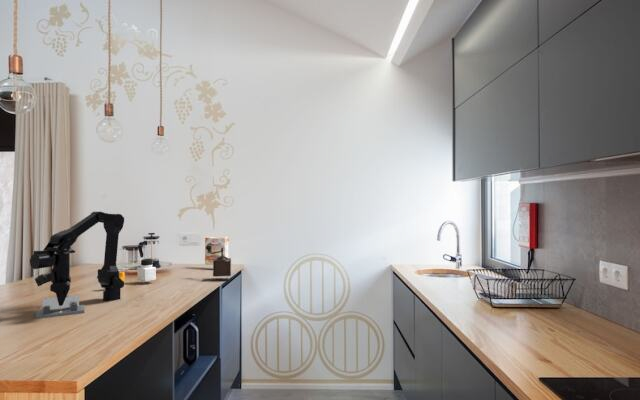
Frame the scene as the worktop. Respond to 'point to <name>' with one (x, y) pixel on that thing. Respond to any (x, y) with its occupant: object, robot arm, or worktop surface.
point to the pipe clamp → (122, 276)
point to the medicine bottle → (146, 271)
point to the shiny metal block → (54, 304)
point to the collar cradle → (59, 311)
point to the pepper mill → (220, 264)
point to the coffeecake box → (216, 248)
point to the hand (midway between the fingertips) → (61, 304)
